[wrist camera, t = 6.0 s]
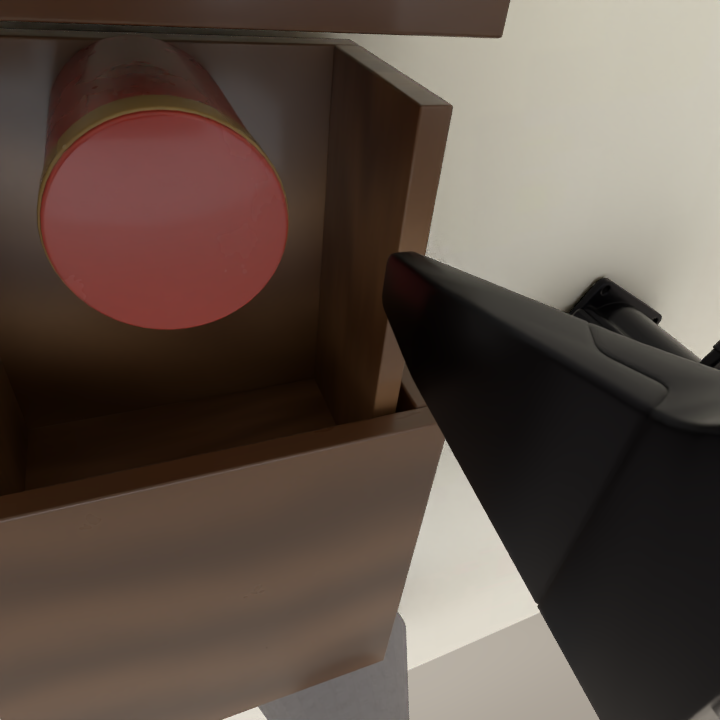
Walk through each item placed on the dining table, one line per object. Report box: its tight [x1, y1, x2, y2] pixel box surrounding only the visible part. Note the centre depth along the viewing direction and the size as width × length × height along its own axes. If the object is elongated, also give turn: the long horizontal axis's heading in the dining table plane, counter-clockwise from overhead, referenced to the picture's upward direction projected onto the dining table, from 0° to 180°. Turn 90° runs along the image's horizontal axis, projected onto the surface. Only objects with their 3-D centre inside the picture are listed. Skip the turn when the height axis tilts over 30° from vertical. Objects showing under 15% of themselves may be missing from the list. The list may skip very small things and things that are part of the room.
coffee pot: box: [258, 612, 409, 720], centre depth 38 cm, size 21×12×15 cm, turn 83°
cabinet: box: [0, 363, 445, 720], centre depth 23 cm, size 17×15×9 cm
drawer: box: [0, 0, 510, 496], centre depth 14 cm, size 20×13×7 cm, turn 174°
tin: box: [37, 35, 289, 330], centre depth 13 cm, size 5×5×6 cm
